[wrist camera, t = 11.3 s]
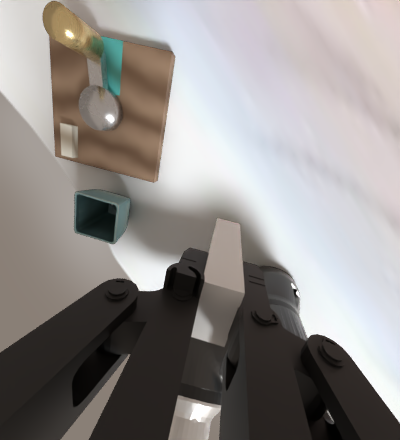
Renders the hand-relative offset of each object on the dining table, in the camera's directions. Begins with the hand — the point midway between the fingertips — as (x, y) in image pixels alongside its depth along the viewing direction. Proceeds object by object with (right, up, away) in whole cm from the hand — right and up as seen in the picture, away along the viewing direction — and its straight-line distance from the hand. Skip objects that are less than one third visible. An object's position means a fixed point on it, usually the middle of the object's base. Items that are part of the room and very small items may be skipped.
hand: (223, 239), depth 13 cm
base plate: (-19, +22, +26) cm, 39 cm away
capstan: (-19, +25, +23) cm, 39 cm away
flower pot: (-20, +5, +34) cm, 39 cm away
